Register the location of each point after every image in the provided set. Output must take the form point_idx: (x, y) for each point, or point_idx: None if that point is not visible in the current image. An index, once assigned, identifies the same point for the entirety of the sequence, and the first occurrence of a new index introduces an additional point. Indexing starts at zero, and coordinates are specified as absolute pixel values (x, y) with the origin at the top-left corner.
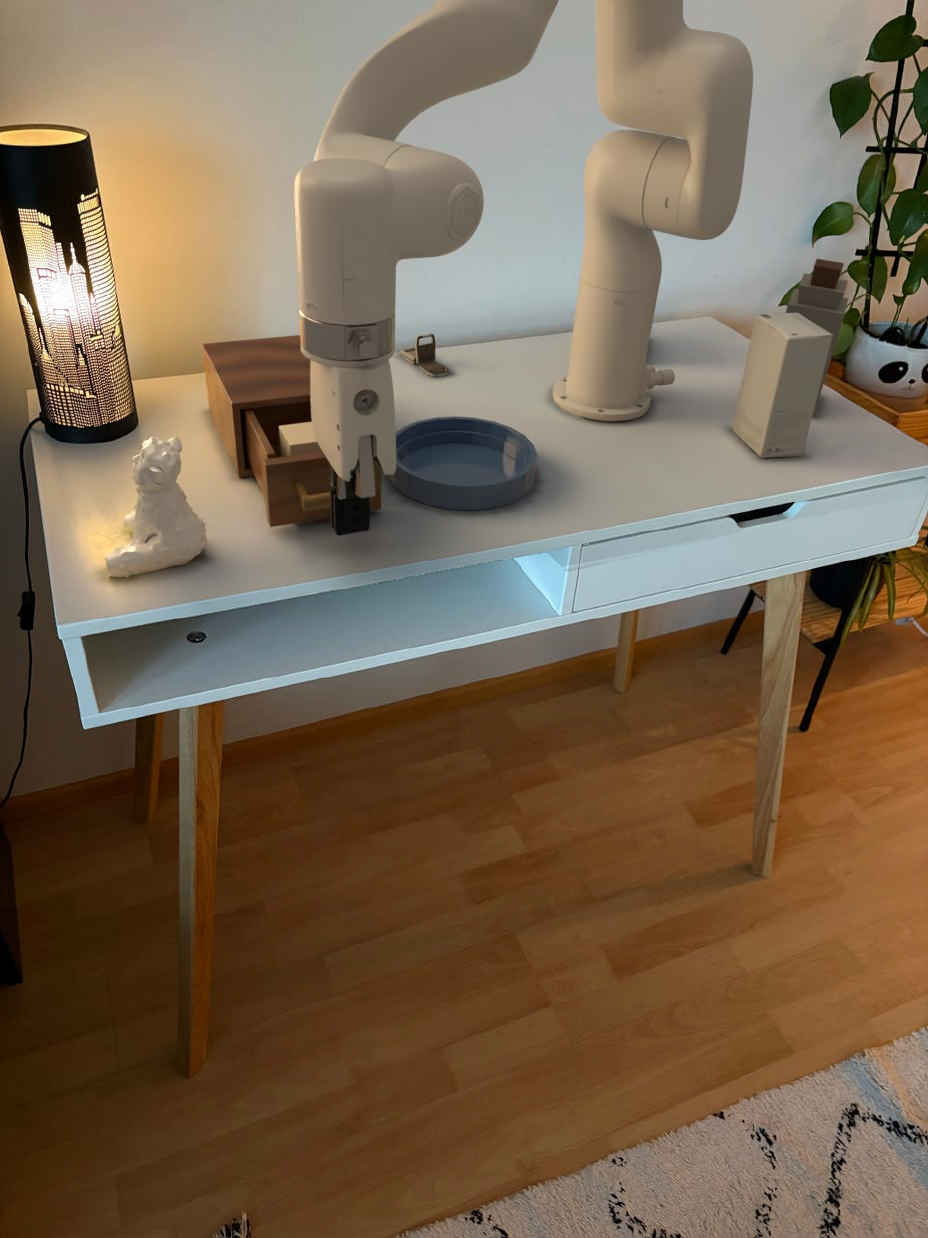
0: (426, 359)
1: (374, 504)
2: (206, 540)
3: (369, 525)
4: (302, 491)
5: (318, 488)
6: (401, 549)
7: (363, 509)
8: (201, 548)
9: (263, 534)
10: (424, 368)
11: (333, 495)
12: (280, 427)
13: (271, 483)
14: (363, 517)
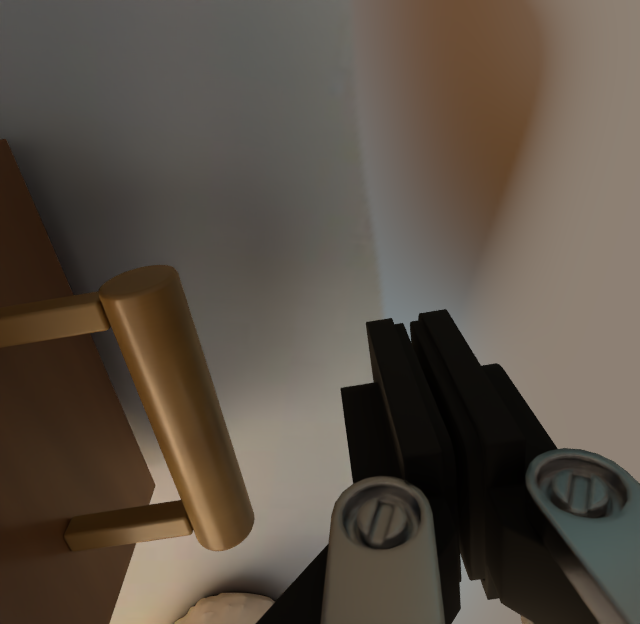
0: None
1: (3, 174)
2: (243, 610)
3: (448, 315)
4: (146, 533)
5: (50, 447)
6: (268, 89)
7: (533, 416)
8: (262, 607)
9: (158, 479)
10: None
11: (488, 593)
12: None
13: (100, 619)
14: (512, 385)
